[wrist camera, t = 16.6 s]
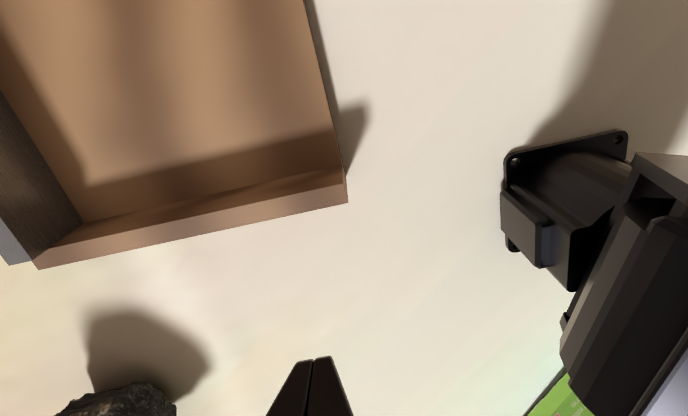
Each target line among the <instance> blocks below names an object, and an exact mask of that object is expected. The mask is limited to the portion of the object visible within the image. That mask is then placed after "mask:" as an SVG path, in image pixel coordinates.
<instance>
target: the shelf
mask: <svg viewBox="0 0 688 416" xmlns="http://www.w3.org/2000/svg"><path fill="white" fill-rule="evenodd" d="M0 90H1V91H2V93H3V94H4V96H5V98H6V99H7V101H8V102H9V104H10V106H11V107H12V109H13V110H14V112H15V113H16V115H17V117H18V118H19V120H20V121H21V123H22V125H23V126H24V128H25V129H26V131H27V132H28V134H29V136H30V137H31V139H32V140H33V142H34V143H35V145H36V147H37V148H38V150H39V151H40V153H41V155H42V156H43V158H44V159H45V161H46V162H47V164H48V166H49V167H50V169H51V170H52V172H53V174H54V175H55V177H56V178H57V180H58V181H59V183H60V185H61V186H62V188H63V189H64V191H65V193H66V194H67V196H68V197H69V199H70V200H71V202H72V204H73V205H74V207H75V208H76V210H77V212H78V213H79V215H80V216H81V218H82V219H83V221H84V224H83V225H81V226H80V227H78V228H77V229H76V230H74V231H73V232H71V233H70V234H69V235H67V236H66V237H64V238H63V239H62V240H60V241H59V242H57V243H56V244H55V245H53V246H52V247H50V248H49V249H48V250H46V251H45V252H43V253H42V254H41V255H39V256H38V257H36V258H35V259H34V260H32V262H33V263H34V265H35V266H36V267H37V269H38V270H41V269H46V268H50V267H55V266H60V265H64V264H69V263H73V262H78V261H83V260H87V259H92V258H96V257H101V256H105V255H110V254H115V253H119V252H124V251H128V250H133V249H138V248H142V247H147V246H151V245H156V244H161V243H165V242H170V241H174V240H179V239H184V238H188V237H193V236H197V235H202V234H206V233H211V232H216V231H220V230H225V229H229V228H234V227H239V226H243V225H248V224H252V223H257V222H262V221H266V220H271V219H275V218H280V217H285V216H289V215H294V214H298V213H303V212H307V211H312V210H317V209H321V208H326V207H330V206H335V205H340V204H344V203H348V195H347V183H346V175H345V171H344V167H343V162H342V158H341V154H340V150H339V146H338V142H337V137H336V133H335V129H334V125H333V121H332V117H331V112H330V108H329V104H328V100H327V96H326V92H325V87H324V83H323V79H322V75H321V71H320V67H319V62H318V58H317V54H316V50H315V46H314V42H313V38H312V33H311V29H310V25H309V21H308V17H307V13H306V8H305V4H304V0H0Z"/></svg>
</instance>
